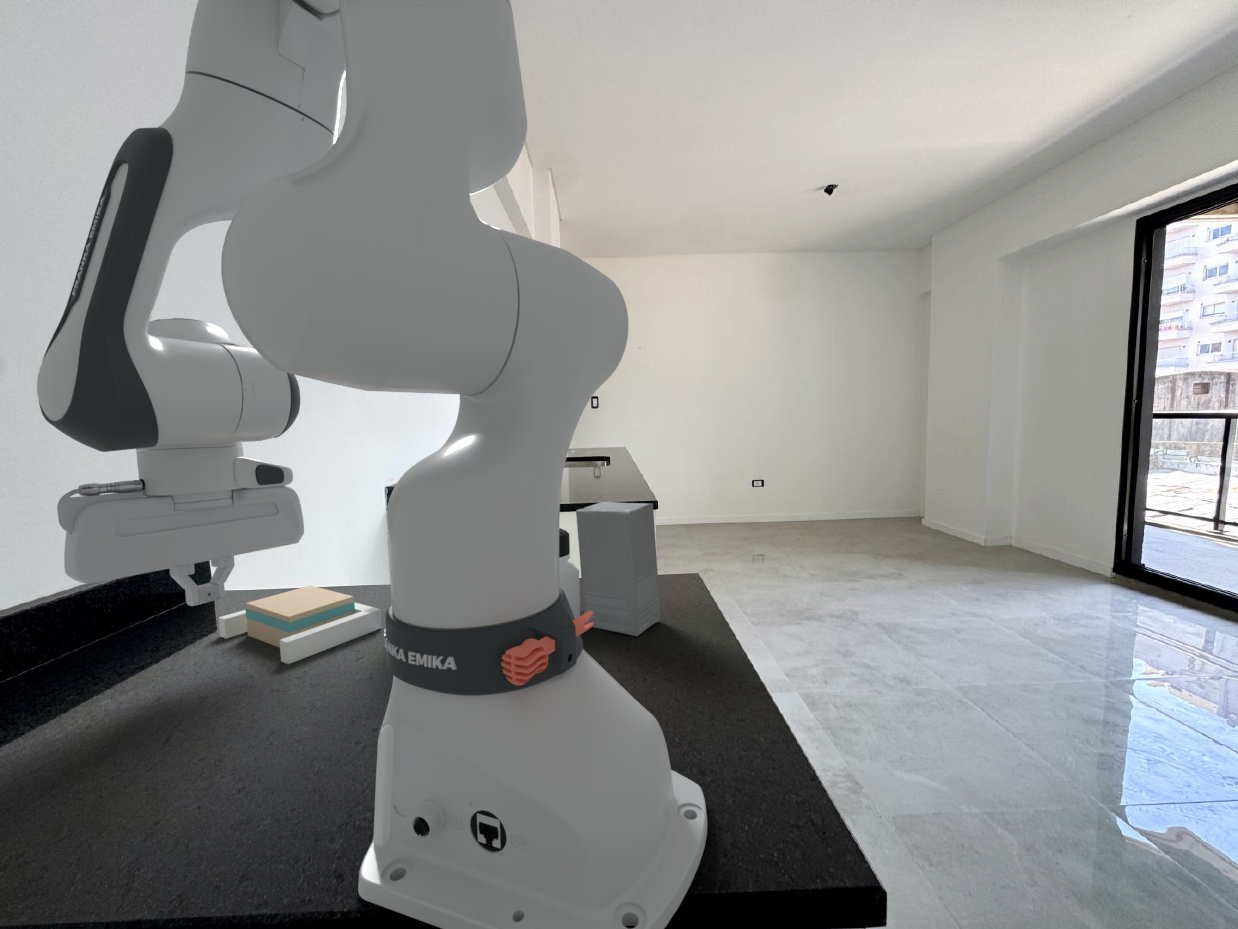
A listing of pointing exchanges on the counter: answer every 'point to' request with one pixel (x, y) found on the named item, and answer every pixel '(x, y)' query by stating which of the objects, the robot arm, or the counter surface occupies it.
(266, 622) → the carton
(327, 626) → the frame
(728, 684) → the counter surface
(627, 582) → the skincare box
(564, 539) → the medicine bottle
